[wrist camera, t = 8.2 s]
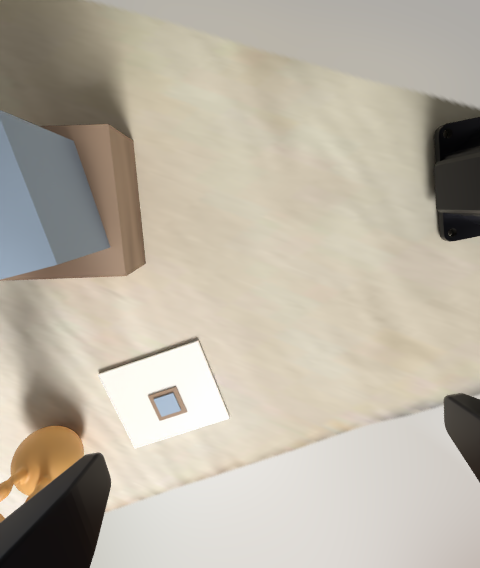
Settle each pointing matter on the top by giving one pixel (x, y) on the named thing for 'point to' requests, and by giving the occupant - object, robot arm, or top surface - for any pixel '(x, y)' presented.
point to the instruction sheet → (165, 394)
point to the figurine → (42, 460)
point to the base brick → (104, 204)
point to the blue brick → (43, 200)
